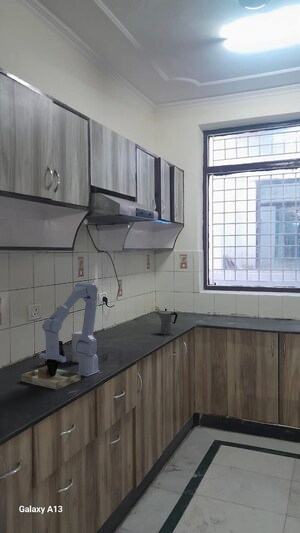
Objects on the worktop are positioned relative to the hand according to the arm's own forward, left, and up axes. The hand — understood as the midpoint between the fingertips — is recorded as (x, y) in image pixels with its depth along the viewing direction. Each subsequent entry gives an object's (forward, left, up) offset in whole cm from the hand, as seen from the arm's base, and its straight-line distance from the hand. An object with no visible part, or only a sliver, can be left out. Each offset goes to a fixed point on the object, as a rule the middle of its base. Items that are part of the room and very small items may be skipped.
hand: (52, 376), depth 177 cm
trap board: (-4, -5, -4) cm, 7 cm away
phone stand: (-26, -24, -4) cm, 36 cm away
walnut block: (0, -4, -1) cm, 4 cm away
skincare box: (-36, -16, -4) cm, 40 cm away
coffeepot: (-123, -11, -4) cm, 124 cm away
